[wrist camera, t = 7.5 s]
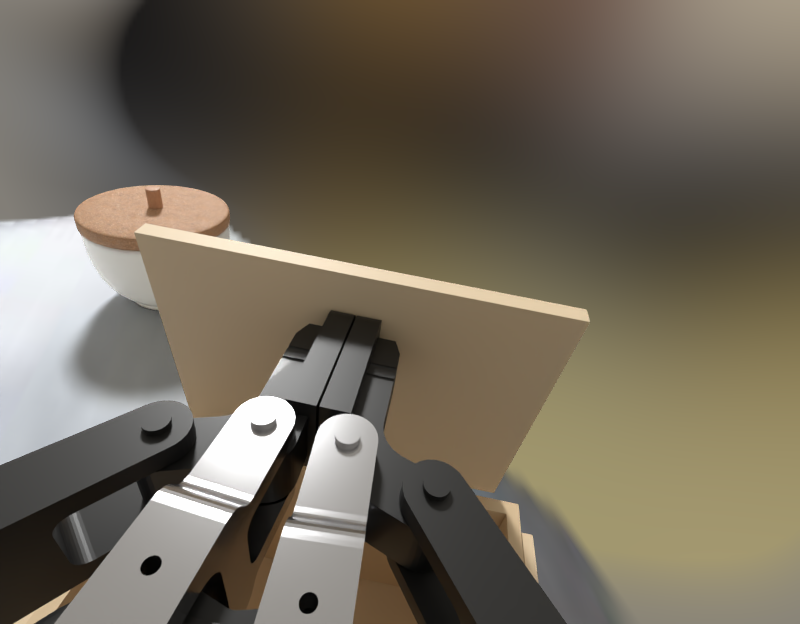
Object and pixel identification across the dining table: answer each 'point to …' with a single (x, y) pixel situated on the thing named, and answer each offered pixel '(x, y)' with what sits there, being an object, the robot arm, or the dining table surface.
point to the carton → (378, 588)
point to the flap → (401, 321)
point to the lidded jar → (129, 210)
